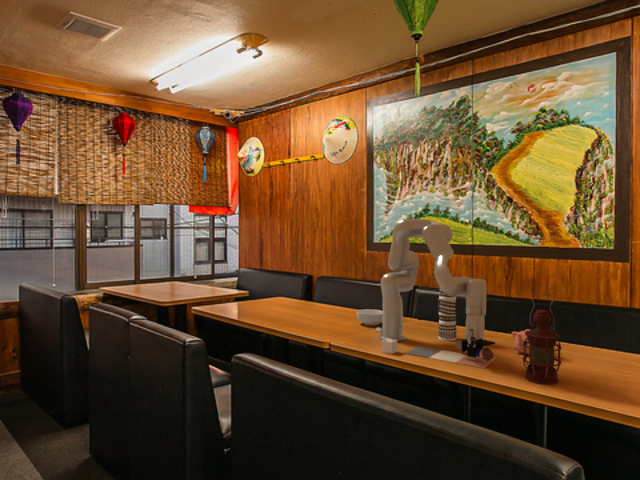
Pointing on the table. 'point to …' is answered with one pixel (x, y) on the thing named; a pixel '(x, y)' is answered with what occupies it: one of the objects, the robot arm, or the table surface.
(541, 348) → the lantern
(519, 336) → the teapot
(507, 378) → the table surface
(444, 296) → the decorative candle
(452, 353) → the game board
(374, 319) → the cereal bowl
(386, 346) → the die
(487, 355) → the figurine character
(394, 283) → the robot arm
